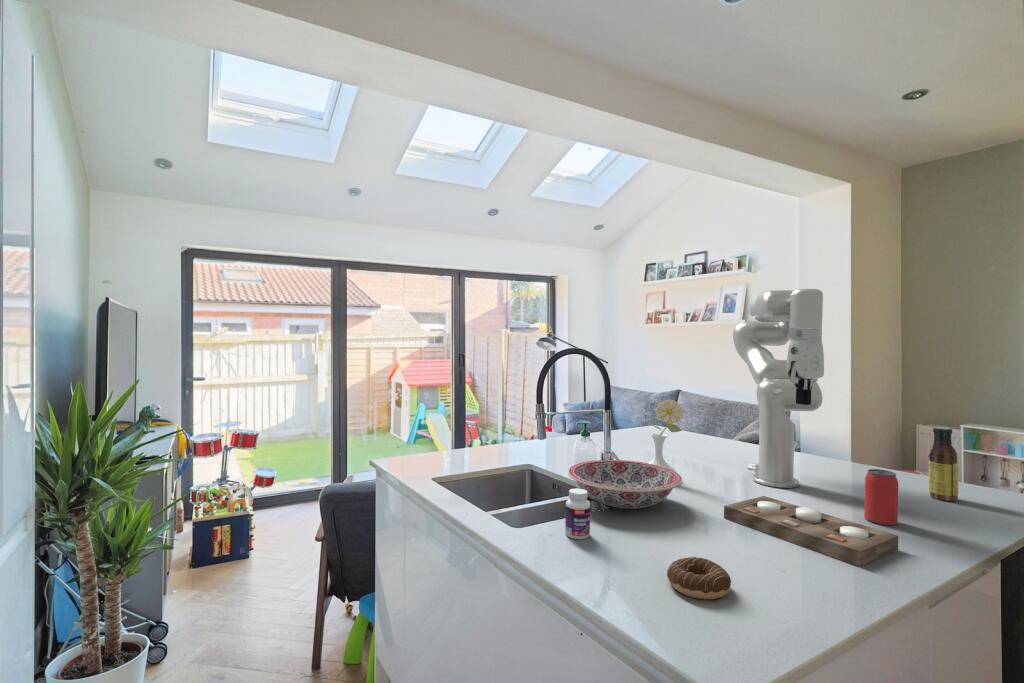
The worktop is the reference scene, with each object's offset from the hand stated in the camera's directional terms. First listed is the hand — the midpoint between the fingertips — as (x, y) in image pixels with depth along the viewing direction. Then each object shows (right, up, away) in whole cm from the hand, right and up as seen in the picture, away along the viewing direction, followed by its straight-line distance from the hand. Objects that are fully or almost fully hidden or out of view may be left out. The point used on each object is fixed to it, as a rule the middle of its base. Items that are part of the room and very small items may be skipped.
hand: (803, 404), depth 135 cm
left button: (-15, -25, -12) cm, 32 cm away
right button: (-6, -25, -28) cm, 38 cm away
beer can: (+11, -27, -13) cm, 32 cm away
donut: (-45, -27, -47) cm, 70 cm away
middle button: (-10, -24, -20) cm, 33 cm away
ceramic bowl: (-49, -26, -2) cm, 55 cm away
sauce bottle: (+42, -27, +6) cm, 51 cm away
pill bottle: (-64, -26, -24) cm, 73 cm away
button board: (-12, -27, -21) cm, 36 cm away
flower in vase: (-32, -26, +21) cm, 46 cm away
